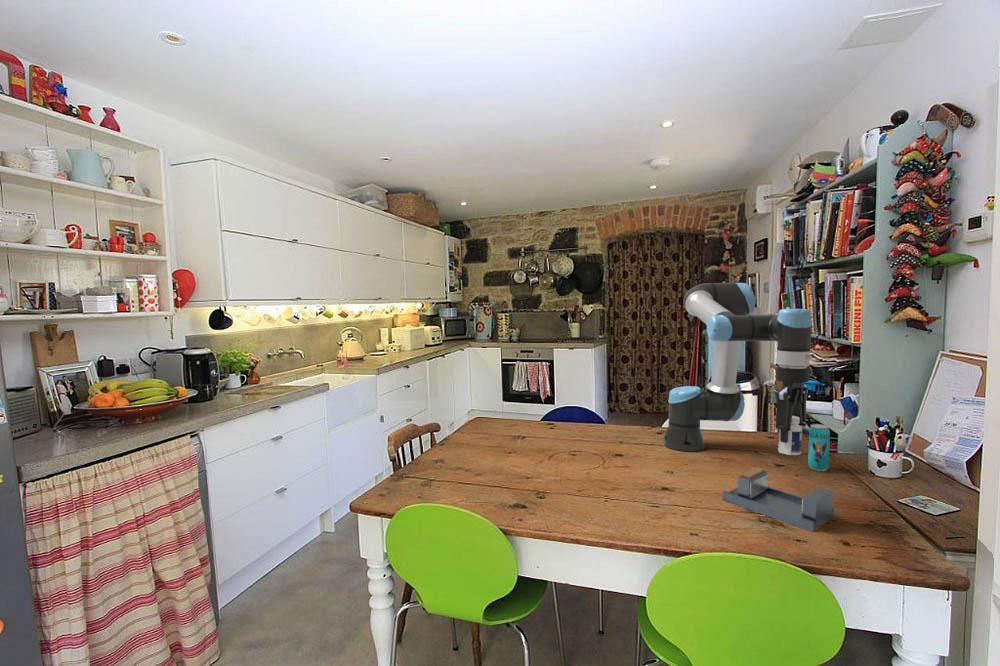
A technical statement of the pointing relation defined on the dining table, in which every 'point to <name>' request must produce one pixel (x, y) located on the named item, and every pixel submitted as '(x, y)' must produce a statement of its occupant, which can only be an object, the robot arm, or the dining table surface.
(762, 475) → the sliding jaw
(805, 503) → the vise bed
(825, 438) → the beverage can
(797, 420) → the pill bottle
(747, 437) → the dining table surface
